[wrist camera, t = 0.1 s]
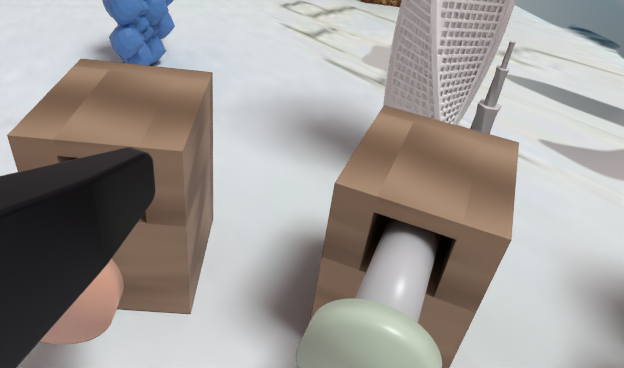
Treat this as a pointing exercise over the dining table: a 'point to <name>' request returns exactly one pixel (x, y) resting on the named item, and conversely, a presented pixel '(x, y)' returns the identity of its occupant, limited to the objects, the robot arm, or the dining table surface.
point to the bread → (384, 2)
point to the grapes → (139, 29)
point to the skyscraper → (447, 58)
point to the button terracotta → (90, 310)
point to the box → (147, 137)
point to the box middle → (424, 214)
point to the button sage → (379, 310)
